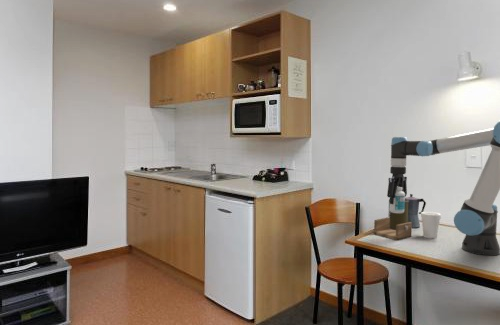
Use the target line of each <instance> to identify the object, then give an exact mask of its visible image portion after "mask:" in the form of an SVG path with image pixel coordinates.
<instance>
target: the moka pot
mask: <svg viewBox="0 0 500 325" xmlns="http://www.w3.org/2000/svg"><path fill="white" fill-rule="evenodd" d="M413 195H414V194H412V193H410V194H409V196H408V197H407V196H406V197H405V200H408V201H409V202H408V222H411V223H412V228H416V229H417V228H420V227H421V224H420V218H419V215H421V212H425V211H424V210H425V208H426V206H427V202H426V201H425V200H424V198H418V197H414V196H413ZM420 203H423V204H422V208H421V211H420V212H419V210H420V209H419V208H420Z"/></svg>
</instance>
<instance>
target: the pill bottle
mask: <svg viewBox="0 0 500 325" xmlns="http://www.w3.org/2000/svg"><path fill="white" fill-rule="evenodd" d="M395 198H396V201H395V211H394V210H390V201H389V200H388V212H389V211H390V212H392V213H404V205H405V198H406V197H405V193H404V192H403V191H402V187H398V186H397V190H396V194H395Z"/></svg>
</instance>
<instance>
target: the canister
mask: <svg viewBox="0 0 500 325" xmlns="http://www.w3.org/2000/svg"><path fill="white" fill-rule="evenodd" d="M389 201H390V198H389V199H388V202H389ZM408 202H409V201H408V200H405V205H404V213H392V212H390V211H389V210H388V216H387V217H388V218H390V229H392V230H396V225H398V224H403V223H407V222H408Z"/></svg>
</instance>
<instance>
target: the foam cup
mask: <svg viewBox="0 0 500 325" xmlns="http://www.w3.org/2000/svg"><path fill="white" fill-rule="evenodd" d="M420 212H421V211H420ZM441 216H442V214H441V213H439V212H435V211H423V212H421V214H420V217H421V224H422V225H421V226H422V235H423V237H424V238H427V239H437V237H438V232H439V226H440V221H441V218H442V217H441Z"/></svg>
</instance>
